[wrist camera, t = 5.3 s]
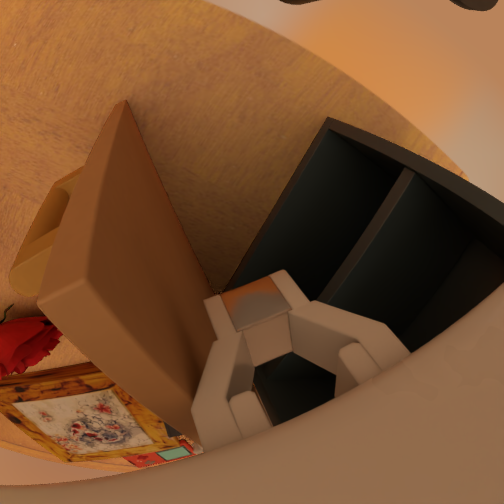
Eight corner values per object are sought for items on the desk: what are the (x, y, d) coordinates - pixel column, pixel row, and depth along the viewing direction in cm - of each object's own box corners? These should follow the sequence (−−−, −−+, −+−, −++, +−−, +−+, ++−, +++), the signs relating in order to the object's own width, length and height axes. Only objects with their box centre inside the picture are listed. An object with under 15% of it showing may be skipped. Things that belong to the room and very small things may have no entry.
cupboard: (218, 300, 38) (305, 492, 19) (327, 116, 30) (552, 238, 11) (320, 320, 48) (408, 449, 29) (413, 185, 39) (553, 290, 20)
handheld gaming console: (121, 457, 52) (185, 443, 55) (121, 453, 53) (183, 438, 56) (139, 468, 58) (197, 455, 61) (138, 464, 59) (195, 450, 62)
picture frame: (130, 366, 36) (180, 446, 54) (128, 354, 38) (178, 437, 55) (-23, 390, 29) (65, 462, 47) (-20, 379, 31) (65, 454, 48)
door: (166, 320, 37) (224, 519, 18) (56, 136, 22) (-99, 382, 3) (216, 298, 38) (303, 490, 19) (126, 99, 22) (85, 277, 4)
